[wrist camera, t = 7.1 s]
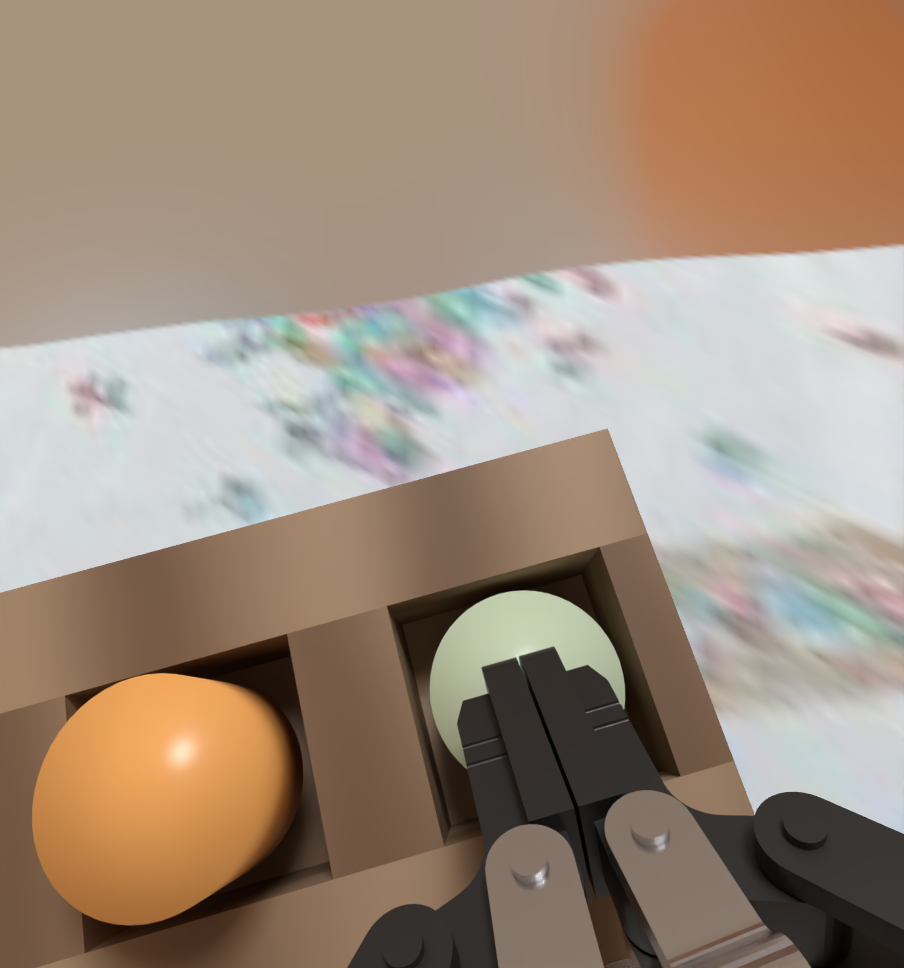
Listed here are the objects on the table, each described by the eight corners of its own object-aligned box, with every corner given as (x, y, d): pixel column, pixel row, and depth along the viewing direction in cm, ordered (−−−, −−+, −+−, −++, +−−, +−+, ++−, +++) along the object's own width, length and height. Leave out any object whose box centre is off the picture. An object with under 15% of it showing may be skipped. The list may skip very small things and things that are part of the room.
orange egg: (284, 661, 16) (240, 647, 13) (320, 853, 14) (279, 885, 11) (109, 710, 15) (24, 707, 13) (128, 910, 14) (40, 956, 11)
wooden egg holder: (564, 531, 24) (607, 428, 16) (667, 834, 21) (789, 907, 13) (-26, 694, 24) (-314, 678, 15) (-14, 1038, 20) (-373, 1265, 12)
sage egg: (571, 593, 18) (587, 569, 15) (624, 754, 16) (653, 761, 14) (421, 636, 18) (408, 619, 15) (463, 802, 16) (458, 818, 13)
